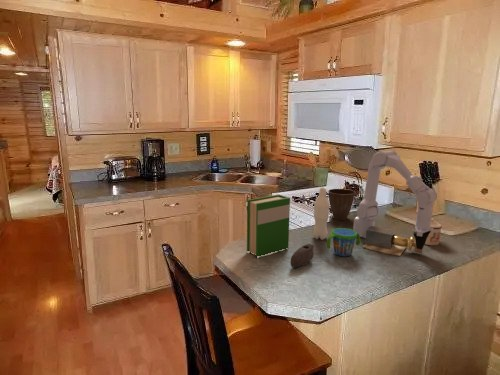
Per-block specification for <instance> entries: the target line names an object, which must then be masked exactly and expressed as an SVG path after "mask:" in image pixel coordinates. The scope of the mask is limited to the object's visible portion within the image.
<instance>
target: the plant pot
mask: <svg viewBox="0 0 500 375" xmlns="http://www.w3.org/2000/svg"><path fill="white" fill-rule="evenodd" d="M327 192H328V202H329V208H330V211H331V214H332V218H333V219H335V220H338V221H339V220H340V221H344V220H347V219H348V216H349V215H350V213H351V210H352V206H353V203H354V201H355V200H354V199H355V195H356V192H355V191H354V190H352V189H346V188H332V189H329V190H328V191H327Z"/></svg>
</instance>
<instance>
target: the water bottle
mask: <svg viewBox="0 0 500 375" xmlns="http://www.w3.org/2000/svg"><path fill="white" fill-rule="evenodd" d="M313 205H314V207H313V208H314V209H313V217H314V229H313V231H312V235H313V237H314V239H315V238H316V239H315V240H318V239H320V241H321V240H322V241H323V240H326V239H327V238H328V235H329V231H328V227H327V223H328V220H329V218H330V216H329V214H330V202H329V198H327V188H326V187H320V188H319V191H318V196H317V198H316V200H315V202H314V204H313Z"/></svg>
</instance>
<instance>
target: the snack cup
mask: <svg viewBox="0 0 500 375" xmlns="http://www.w3.org/2000/svg"><path fill="white" fill-rule="evenodd" d="M328 235H329V236H327V239H326V240H327V241H326V248H328V249H329V250H330V249H331V243H332V242H333V243H332V244H333V245H332V246H333V253H334V254H335V255H336V256H340V257H350V256H352V254H353V250H354V246H355V244H356V245H357V246H360V245H361V237H360V236H359V234H358V233H357V232H356V231H354V230H353V229H352V228H351V229H350V228H345V227H344V228H343V227H336V228H334V229H332V230H331V233H330V234H328ZM331 239H332V240H331ZM331 241H332V242H331Z"/></svg>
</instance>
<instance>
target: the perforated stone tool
mask: <svg viewBox="0 0 500 375" xmlns="http://www.w3.org/2000/svg"><path fill="white" fill-rule="evenodd" d="M314 255H315V254H314V245H313V244H311V243H307V244H305V245H302V246H301V247H299V248H298V249H297V250H296V251H295V252H294V253H293V254H292V256H291V258H290V266H291V267H292V268H293V269H295V268H301V267H302V266H305V265H307V264H308V263H309V262H311V261H312V260H313V258H314Z"/></svg>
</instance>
